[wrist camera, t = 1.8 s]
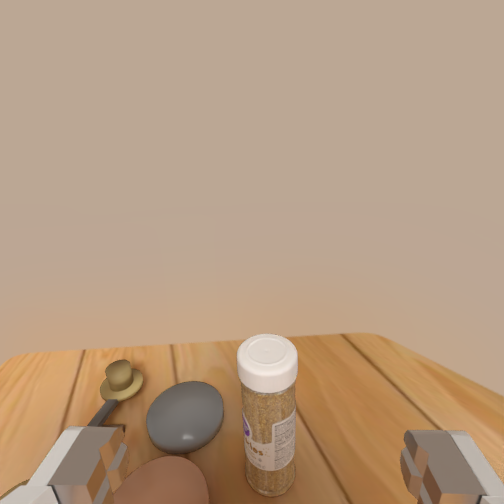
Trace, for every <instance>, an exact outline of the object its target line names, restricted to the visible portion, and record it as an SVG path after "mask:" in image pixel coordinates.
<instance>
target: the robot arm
mask: <svg viewBox="0 0 504 504" xmlns="http://www.w3.org/2000/svg"><path fill="white" fill-rule="evenodd" d="M123 438H124V432H123V429H122V428H115V427H91V426H69V427H68V428H67V429H65V430H64V431H63V433H62V434H61V436H60V437H59V438H58V440H57V441H56V443H55V444H54V446H53V447H52V448H51V450H50V451H49V453H48V454H47V456H46V457H45V459H44V460H43V461H42V463H41V464H40V466H39V467H38V469H37V470H36V472H35V473H34V474H33V476H32V477H31V479H30V480H29V482H28V483H27V485H20V486H19V487H18V488H16V489H15V490H14V491H12V492H11V493H10V494H8V495H7V496H6V497H4V498H3V499H2V500H0V504H114V497H113V492H114V491H115V490H116V489H117V488H119V487H120V486H121V485H122V483H123V480H124V478H125V475H126V473H127V468H128V463H129V451H128V447H127V446H126V445H125V444H124V443H123V442H122V440H123ZM404 442H405V444H406V446H407V447H405V448H404V449H403V450H402V451H401V457H400V464H401V471H402V475H403V479H404V482H405V484H406V487H407V489H408V491H409V492H410V493H411V494H412V495H413V496H414V497H415V498H416V499H417V500H418V502H417V504H504V484H503V483H502V481H501V480H500V478H499V477H498V475H497V474H496V472H495V471H494V470H493V468H492V467H491V465H490V464H489V462H488V461H487V459H486V458H485V457H484V455H483V454H482V452H481V451H480V449H479V448H478V446H477V445H476V444H475V442H474V441H473V439H472V438H471V436H470V435H469V434H468V433H467V432H465V431H443V430H407V431H406V432H405V435H404Z"/></svg>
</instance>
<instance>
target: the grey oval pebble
mask: <svg viewBox="0 0 504 504" xmlns="http://www.w3.org/2000/svg"><path fill="white" fill-rule="evenodd" d="M223 418H224V411H223V402H222V398H221V396H220V394H219V392H218V391H217V390H216V389H215V388H214V387H212V386H211V385H209V384H206V383H203V382H195V381H193V382H184V383H180V384H177V385H175V386H173V387H171V388H169V389H167V390H166V391H164V392H163V393H162V394H160V395H159V396H158V397H157V398H156V399H155V401H154V402H153V403H152V405H151V407H150V409H149V411H148V414H147V421H146V423H147V429H148V433H149V437H150V439H151V441H152V443H153V444H154V445H155V446H156V447H157V448H158V449H159V450H161V451H163V452H166V453H170V454H185V453H190V452H193V451H195V450H198V449H200V448H201V447H203V446H205V445H206V444H207V443H209V442H210V441H211V440H212V439H213V438H214V437H215V436H216V434H217V433H218V431H219V429H220V428H221V425H222V422H223Z"/></svg>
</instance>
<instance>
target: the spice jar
mask: <svg viewBox="0 0 504 504" xmlns="http://www.w3.org/2000/svg"><path fill="white" fill-rule="evenodd" d="M237 371H238V376H239V378H240V381H241V387H242V403H243V408H242V414H243V429H244V447H245V452H246V465H245V474H246V478H247V481H248V483H249V484H250V486H251V487H252V488H253V489H254V490H255V491H256V492H257V493H259V494H261V495H263V496H268V497H274V496H279V495H281V494H284V493H285V492H286V491H287V490H288V489H289V488H290V487H291V485H292V484H293V481H294V478H295V464H294V452H295V428H296V400H295V381H296V377H297V373H298V354H297V350H296V348H295V346H294V345H293V343H292V342H290V341H289V340H288V339H286V338H284V337H282V336H279V335H276V334H259V335H255V336H252V337H250V338H248V339H247V340H245V341H244V342H243V343H242V344H241V345H240V346H239V348H238V351H237Z"/></svg>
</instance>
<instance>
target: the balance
mask: <svg viewBox="0 0 504 504" xmlns="http://www.w3.org/2000/svg"><path fill="white" fill-rule="evenodd" d="M105 373H106V376H107V378H106V379H105V380H104V381H103V383H102V385H101V387H100V393H101V397H102V398H103V399H104V400H105V401H106V403H105V404H104V405H103V406H102V408H101V409H100V410H99V411H98V413H97V414H96V415H95V416H94V418H93V419H92V420H91V422H90V423H89V424H88V425H87V426H91V427H115V428H122V429H123V432H125V428H124V425H103V424H104V422H105V421H106V420H107V418H108V417H109V415H110V414H111V413H112V411H113V410H114V409H115V407H116V406H117V404H118V403H119V402H121V401H124V400H126V399H129V398H130V397H132V396H134V395H135V394H136V393H137V392H138V391H139V390H140V389H141V387H142V385H143V376H142V373H141V372H140V371H139V370H136V369H131V366H130V362H129V361H127V360H118V361H115V362H113V363H111V364H110V365H109V366H108V367H107V368H106V370H105ZM29 480H30V479H29ZM29 480H26V481H24V482H22V483H20V484H18V485H16V486H14V487H13V488H11V489H10V490H9V491H7V492H6V493H5V494H3V495H2V496H1V497H0V500H2V499H3V498H4V497H6V496H7V495H8V494H10V493H11V492H12V491H14V490H15V489H16V488H18V487H19V486H20V485H27V483H28V482H29Z"/></svg>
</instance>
